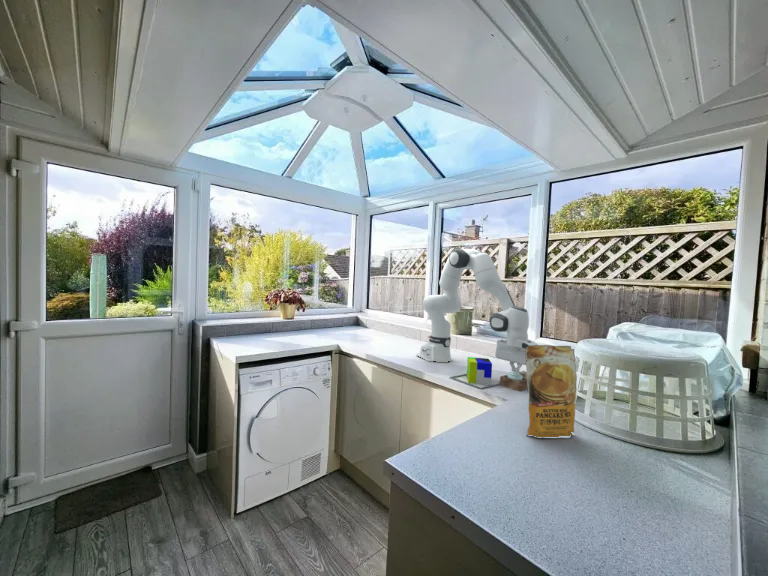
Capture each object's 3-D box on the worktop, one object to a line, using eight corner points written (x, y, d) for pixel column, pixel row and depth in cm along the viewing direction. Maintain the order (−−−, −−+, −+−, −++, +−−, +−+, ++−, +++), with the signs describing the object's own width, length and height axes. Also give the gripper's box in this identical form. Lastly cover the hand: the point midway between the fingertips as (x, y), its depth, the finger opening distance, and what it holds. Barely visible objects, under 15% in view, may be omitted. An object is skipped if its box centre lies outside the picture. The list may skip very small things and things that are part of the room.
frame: (449, 378, 156) (449, 376, 156) (471, 373, 166) (471, 372, 166) (481, 389, 141) (481, 388, 141) (503, 384, 151) (503, 382, 151)
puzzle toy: (490, 385, 149) (492, 363, 148) (468, 383, 150) (469, 361, 150) (487, 378, 159) (488, 358, 158) (466, 376, 160) (467, 357, 160)
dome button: (504, 378, 149) (505, 372, 149) (512, 376, 153) (512, 370, 153) (517, 382, 144) (517, 376, 144) (525, 380, 148) (525, 374, 147)
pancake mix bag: (514, 429, 103) (519, 343, 103) (568, 428, 106) (573, 344, 105) (526, 440, 97) (532, 347, 96) (583, 438, 99) (589, 348, 99)
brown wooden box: (499, 384, 150) (499, 372, 149) (518, 379, 159) (519, 368, 159) (518, 391, 142) (519, 378, 141) (538, 385, 151) (538, 373, 151)
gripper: (493, 338, 154) (491, 367, 155) (534, 346, 138) (532, 378, 138) (501, 337, 158) (499, 365, 158) (542, 345, 141) (540, 376, 142)
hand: (515, 371), depth 148 cm, fingers closed
